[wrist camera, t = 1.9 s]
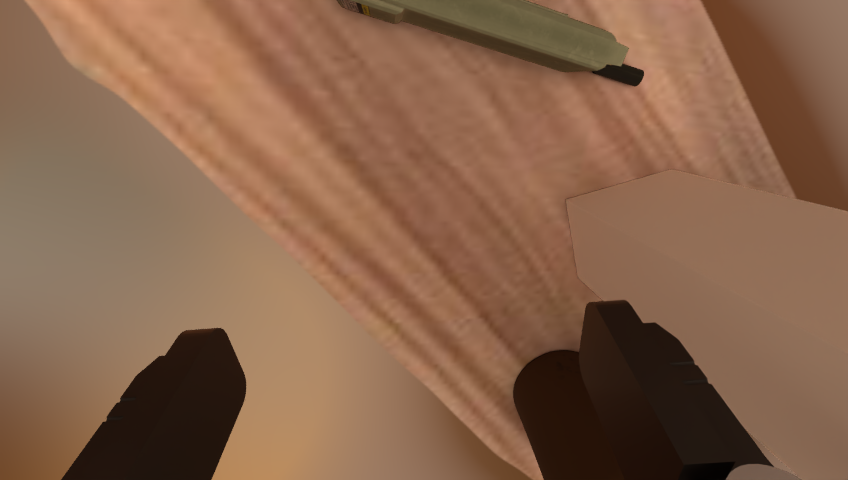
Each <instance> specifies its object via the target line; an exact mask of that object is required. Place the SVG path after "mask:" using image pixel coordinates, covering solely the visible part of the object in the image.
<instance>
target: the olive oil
mask: <svg viewBox="0 0 848 480" xmlns="http://www.w3.org/2000/svg"><path fill="white" fill-rule="evenodd" d="M514 402H515V406H516V408H517V411H518V414H519V416H520V419H521V421H522V424H523V426H524V429H525V431H526V433H527V436H528V439H529V441H530V444H531V446H532V449H533V452H534V454H535V457H536V460H537V462H538V465H539V468H540V470H541V473H542V476H543V478H544V480H625V479H624V477H623V474H622V472H621V470H620V467H619V465H618V462H617V460H616V458H615V455H614V453H613V451H612V448H611V446H610V443H609V441H608V439H607V436H606V434H605V431H604V429H603V427H602V424H601V422H600V420H599V417H598V415H597V412H596V410H595V408H594V405H593V403H592V400H591V398H590V396H589V393H588V391H587V389H586V386H585V384H584V381H583V378H582V375H581V371H580V365H579V353H577V352H573V351H555V352H551V353H547V354H545V355H542V356H540V357H538V358H537V359H535V360H533V361H532V362H531V363H530V364H528V365H527V366H526V367H525V368H524V369H523V371H522V372H521V373H520V375H519V377H518V378H517V381H516V383H515V387H514Z"/></svg>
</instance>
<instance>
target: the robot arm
mask: <svg viewBox="0 0 848 480" xmlns="http://www.w3.org/2000/svg"><path fill="white" fill-rule="evenodd" d="M579 365H580V371H581V375H582V378H583V381H584V384H585V386H586V389H587V391H588V393H589V396H590V398H591V400H592V403H593V405H594V408H595V410H596V412H597V415H598V417H599V420H600V422H601V424H602V427H603V429H604V431H605V434H606V436H607V439H608V441H609V443H610V446H611V448H612V451H613V453H614V455H615V458H616V460H617V462H618V465H619V467H620V470H621V472H622V474H623V477H624V479H625V480H802V479H800V478H798V477H797V476H794V475H793V474H791V473H789V472H787V471H784V470H781V469H778V468H775V467H774V466H773V465H772V464H771V463H770V462H769V461H768V460H767V458H766V457H765V456H764V454H763V453H762V452H761V450H760V449H759V448H758V446H757V445H756V443H755V442H754V441H753V439H752V438H751V437H750V435H749V434H748V433H747V431H746V430H745V429H744V427H743V426H742V425H741V423H740V422H739V420H738V419H737V418H736V416H735V415H734V414H733V412H732V411H731V410H730V408H729V407H728V406H727V404H726V403H725V402H724V400H723V399H722V397H721V396H720V395H719V393H718V392H717V391H716V389H715V388H714V387H713V385H712V384H709V383H708V379H707V377H706V376H705V374H704V373H703V372H702V370H701V369H700V368H699V366H698V365H695V363H694V360H693V358H692V357H691V356H690V354H689V353H688V351H687V350H686V349H685V347H684V346H683V345H682V343H681V342H680V341H679V339H677V338H676V337H675V336H673V335H672V334H671V333H669V332H668V331H666V330H665V329H664V328H662V327H661V326H660V325H658V324H657V323H656V322H652V323H643V322H642V321H641V319H640V318H639V316H638V315H637V313H636V312H635V310H634V309H633V307H632V306H631V304H630V303H629V302H628V301H626V300H613V301H599V302H589V303H588V304H587V306H586V309H585V315H584V322H583V329H582V336H581V342H580V349H579ZM245 394H246V379H245V375H244V372H243V370H242V368H241V365H240V363H239V361H238V359H237V356H236V354H235V352H234V349H233V347H232V345H231V343H230V340H229V338H228V336H227V334H226V332H225V331H224V330H223V329H221V328H212V329H198V330H186V331H184V332H182V333H181V334H180V335H179V336H178V338H177V339H176V340H175V342H174V343H173V345H172V346H171V348H170V349H169V351H168V352H167V354H166V355H165V356H159V357H158V358H157V359H155V361H153V362H152V363H151V364H150V365H148V366H147V367H146V368H145V369H144V370H142V371H141V372H140V373H139V374H138V375H137V376H136V377H135V378H134V380H133V381H132V382H131V384H130V385H129V387H128V388H127V389H126V391H125V392H124V394H123V395H122V396H121V398H120V399H121V401H120V402H119V403H116V405H115V406H114V407H113V409H112V410H111V412H110V413H109V414H108V416H107V421H106V422H103V423H102V424H101V425H100V427H99V428H98V430H97V431H96V432H95V434H94V435H93V436H92V438H91V439H90V441H89V442H88V443H87V445H86V446H85V448H84V449H83V450H82V452H81V453H80V454H79V456H78V457H77V459H76V460H75V461H74V463H73V464H72V466H71V467H70V468H69V470H68V471H67V472H66V474H65V475H64V477H63V478H62V479H61V480H211V479H212V477H213V474H214V472H215V470H216V467H217V465H218V463H219V460H220V457H221V455H222V453H223V450H224V448H225V446H226V443H227V441H228V438H229V436H230V434H231V431H232V429H233V427H234V424H235V422H236V419H237V417H238V415H239V412H240V410H241V407H242V405H243V402H244V399H245Z"/></svg>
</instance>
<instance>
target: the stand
mask: <svg viewBox="0 0 848 480" xmlns="http://www.w3.org/2000/svg"><path fill="white" fill-rule="evenodd" d="M566 206H567V213H568V219H569V226H570V232H571V238H572V245H573V251H574V258H575V264H576V270H577V277H578V278H579V279H580V280H581V281H582V282H583V283H584V284H585V285H586V286H588V287H589V288H590V289H591V290H592V291H593V292H594V293H595V294H596V295H597V296H599V297H600V298H601V299H602V300H603V301H613V300H626V301H628V302H629V303H630V304H631V306H632V307H633V309H634V310H635V312H636V313H637V315H638V316H639V318H640V319H641V321H642V322H643V323H652V322H656V323H657V324H658V325H660V326H661V327H662V328H664V329H665V330H666V331H668V332H669V333H671V334H672V335H673V336H675V337H676V338H677V339H679V341H680V342H681V343H682V345H683V346H684V347H685V349H686V350H687V351H688V353H689V354H690V356H691V357H692V358H693V360H694V363H695V365H698V366H699V368H700V369H701V370H702V372H703V373H704V374H705V376H706V377H707V379H708V383H709V384H712V385H713V387H714V388H715V389H716V391H717V392H718V393H719V395H720V396H721V397H722V399H723V400H724V402H725V403H726V404H727V406H728V407H729V408H730V410H731V411H732V412H733V414H734V415H735V416H736V418H737V419H738V420H739V422H740V423H741V425H742V426H743V427H744V428H745V429H746V430H747V431H748V432H749V433H750V434H751V435H752V436H754V437H755V438H756V439H757V440H758V441H759V442H760V443H761V444H762V445H764V446H765V447H766V448H767V449H768V450H769V451H770V452H771V453H772V454H774V455H775V456H776V457H777V458H778V459H779V460H780V461H781V462H782V463H783V464H785V465H786V466H787V467H788V468H789V469H790V470H791V471H792V472H794V473H795V474H796V475H797V476H798V477H799V478H800V479H802V480H848V211H844V210H839V209H836V208H831V207H827V206H823V205H819V204H815V203H811V202H807V201H802V200H798V199H794V198H790V197H786V196H782V195H778V194H773V193H769V192H765V191H761V190H757V189H753V188H748V187H744V186H740V185H736V184H732V183H728V182H724V181H719V180H715V179H711V178H707V177H703V176H699V175H695V174H690V173H686V172H682V171H678V170H674V169H670V170H666V171H663V172H659V173H656V174H652V175H649V176H646V177H642V178H639V179H635V180H632V181H628V182H625V183H621V184H618V185H614V186H611V187H607V188H604V189H600V190H597V191H593V192H590V193H586V194H583V195H580V196H576V197H573V198H569V199H566Z"/></svg>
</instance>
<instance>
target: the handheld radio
mask: <svg viewBox="0 0 848 480" xmlns="http://www.w3.org/2000/svg"><path fill="white" fill-rule="evenodd" d="M337 1H338V3H339V4H340V5H341V6H342V7H343V8H346V9H349V10H352V11H355V12H359V13H362V14H365V15H368V16H371V17H374V18H378V19H381V20H384V21H387V22H390V23H393V24H396V23H399V22H400V21H404V22H407V23H410V24H413V25H417V26H420V27H423V28H426V29H429V30H432V31H435V32H439V33H442V34H445V35H448V36H451V37H454V38H458V39H461V40H464V41H467V42H470V43H473V44H476V45H480V46H483V47H486V48H489V49H492V50H495V51H498V52H502V53H505V54H508V55H511V56H514V57H517V58H520V59H524V60H527V61H530V62H533V63H536V64H539V65H542V66H546V67H549V68H552V69H555V70H558V71H562V72H577V71H592V72H593V73H595V74H598V75H601V76H604V77H607V78H610V79H613V80H616V81H619V82H623V83H626V84H629V85H632V86H637V85H639V84H640V82H641V81H642V79H643V76H644V71H643V70H640V69H637V68H634V67H631V66H628V65H625V64H622V63H623V61H624V59H625V56H626V54H627V52H628V49H629V48H628V47H626V46H624V45H622V44H620V43H618V42H616V38H615V37H614V36H613V35H612V34H611V33H610V32H608V31H606V30H603V29H601V28H598V27H595V26H592V25H589V24H586V23H583V22H581V21H578V20H575V19H572V18H569V17H568V14H564V13H561V12H558V11H555V10H552V9H549V8H546V7H543V6H540V5H537V4H535V3H532V2H529V1H526V0H337Z"/></svg>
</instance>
